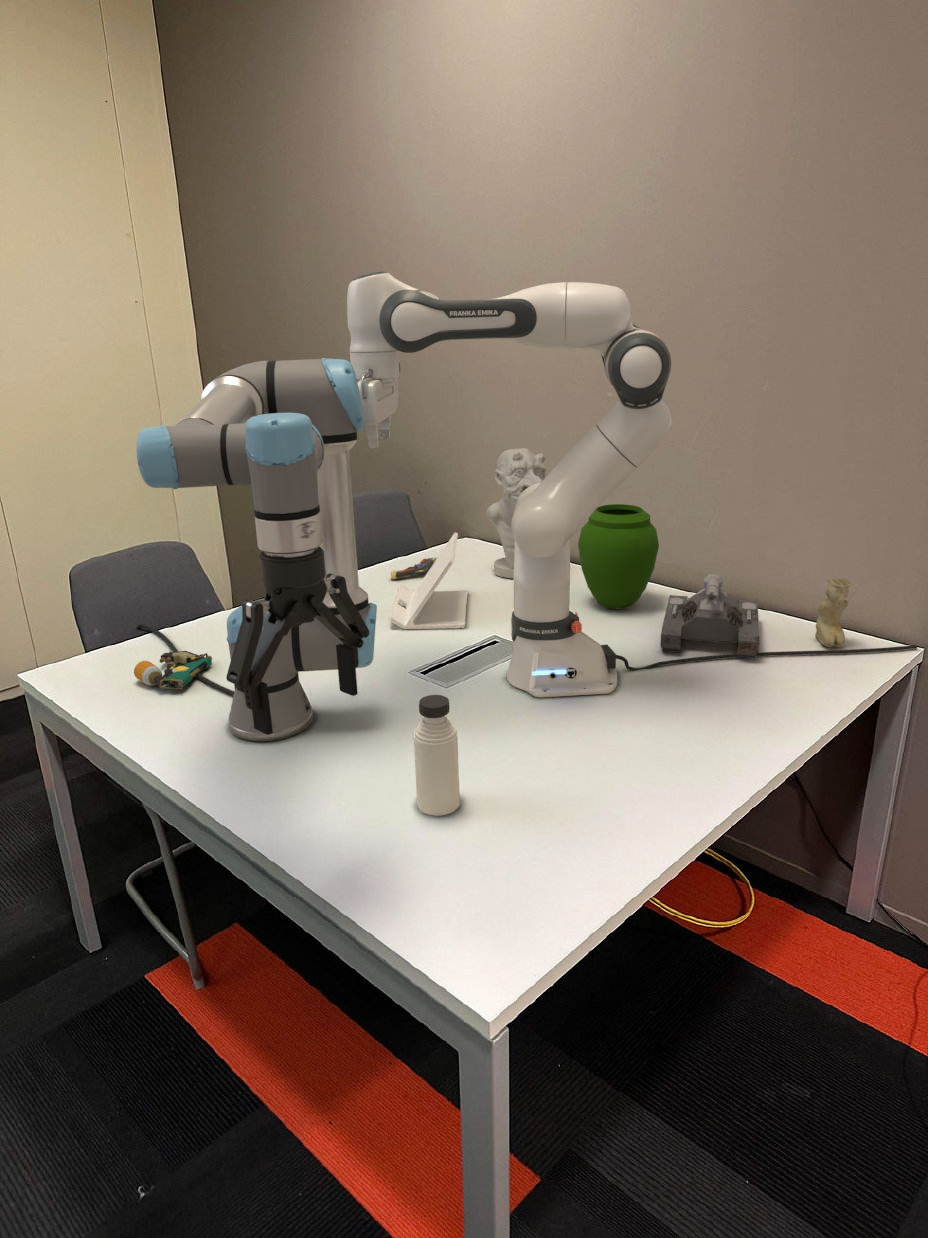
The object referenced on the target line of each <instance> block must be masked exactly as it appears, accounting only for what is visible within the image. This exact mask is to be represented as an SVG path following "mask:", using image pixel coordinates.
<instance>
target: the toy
mask: <svg viewBox="0 0 928 1238" xmlns="http://www.w3.org/2000/svg"><path fill="white" fill-rule="evenodd" d="M723 584H724V580H723V577H722V576H721V575H720V574H718V573H709V574H708V575H707V576H705V577H704V579H703V586H704V588H702V589H700V590H698V591H697V592H696V593H695V594H693V595H692V596H691V597H688V596H687V595H674V594H670V595H669V596H668V600H667V604H666V609H665V613H664V618H663V622H662V625H661V633H660V648H661V651H664V652H674V653H680V652H681V645H682V639H684V640H687V641H693V642H695V641H696V642H707V643H718V644H736V654H737V655H738V656H747V658H748V657H749V658H756V657H758V656H757V653H759V647H760V622H759V620H760V619H759V605H758V604H759V602H758V601H757V600H749V599H747V600H745V599H738V601H737V600H735V598H734V597H732V596H731V595H730V594H729V593H728V592H726V591H724V590H723V589H722V588H723Z"/></svg>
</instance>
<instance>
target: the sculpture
mask: <svg viewBox="0 0 928 1238" xmlns="http://www.w3.org/2000/svg"><path fill="white" fill-rule="evenodd" d="M826 581H827V586H826V588H825V590H824V593H825V595H826V596H827V598H826V600H824V601H822V602H821V603H820V604H819V605H818V606H817V609H816V610H817V612H818V614H819V616H818V617H817V619H816V623H815V630H816V631H815V634H814V635H815V639H817V640H819V642H820V643H821V644H822V645H823V646H825V647H827V648H832V647H834V646H835V647H843V646H844V645H845V643H846V642H845V641H846V636H845V632H844V630H843V626H842V624H841V622H840V621H841V617H842V615H843V612H844V610H845V609H846V608H847V606H848V604H849V603H848V602H849V601H847V598H848V597H849V592H850V586H851V585H852V582H850V580H848V579H847V578H845V577H841V576H840V577H835V578H831V577H827V578H826Z"/></svg>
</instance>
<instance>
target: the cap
mask: <svg viewBox="0 0 928 1238" xmlns="http://www.w3.org/2000/svg"><path fill="white" fill-rule="evenodd" d="M450 709H451V708H450V700H449V698H448V697H447V696H445V695H442V694H430V695H429V694H428V695H425V696H423V697H421V698H420V699H419V701H418V713H419V714H420V716H422V717H423V718H424V717H426V718H440V717H443V716H446V717H447V715H448V714H449V713H450Z"/></svg>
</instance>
